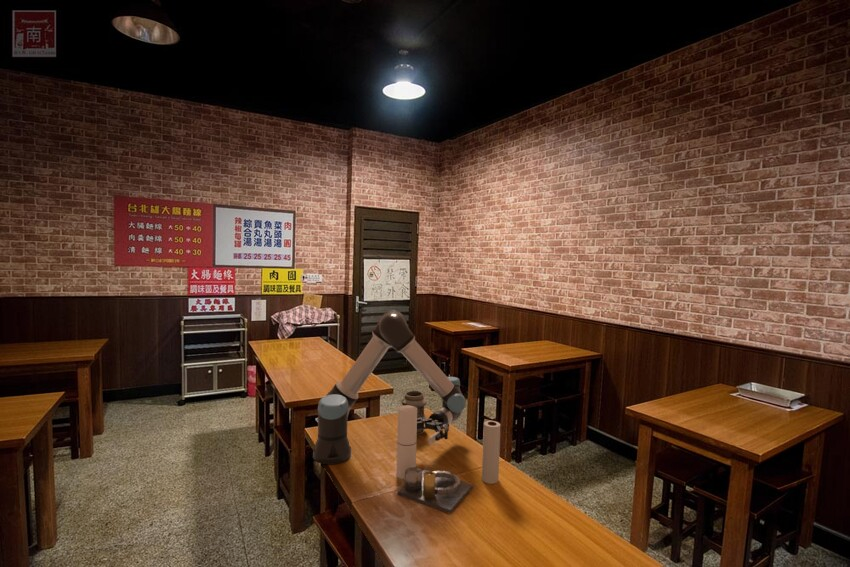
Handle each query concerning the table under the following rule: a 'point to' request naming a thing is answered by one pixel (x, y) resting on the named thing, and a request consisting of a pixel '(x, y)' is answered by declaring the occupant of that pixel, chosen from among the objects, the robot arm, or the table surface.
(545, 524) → the table surface
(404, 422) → the cylindrical container
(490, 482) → the paper towel roll
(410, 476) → the carrier
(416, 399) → the apothecary jar
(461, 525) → the table surface
